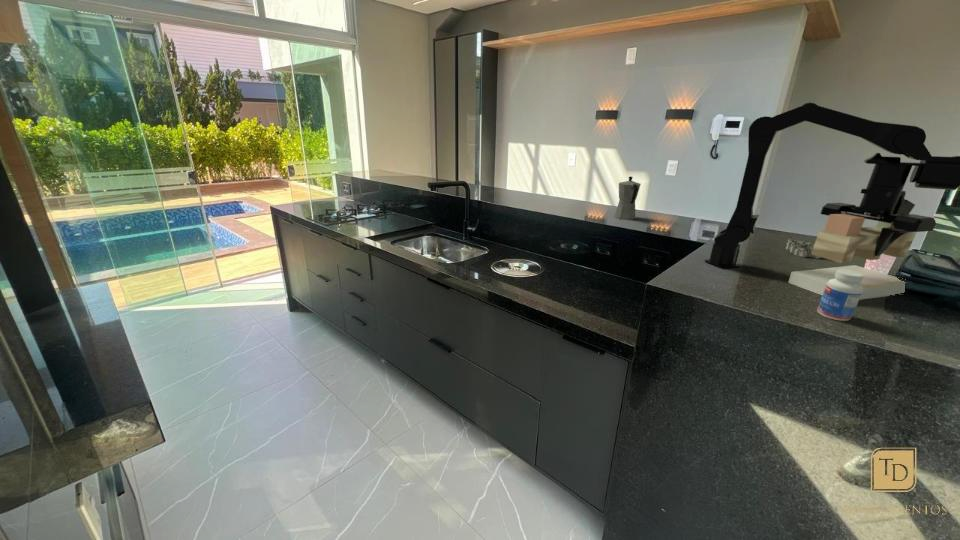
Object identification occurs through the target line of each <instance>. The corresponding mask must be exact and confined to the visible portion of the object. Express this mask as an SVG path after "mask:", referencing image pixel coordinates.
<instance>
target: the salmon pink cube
mask: <svg viewBox="0 0 960 540" xmlns="http://www.w3.org/2000/svg"><path fill="white" fill-rule="evenodd" d="M865 220H866V219H865V218H863V217H858V216H852V215H847V214H830V215H829V216H828V218H827V221H826V224H825V227H824V229H823V230H824V231H825V232H829V233H834V234H838V235H842V236H856V235H859V233H860V231H861V228H862V227H863V225H864V222H865Z"/></svg>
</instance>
